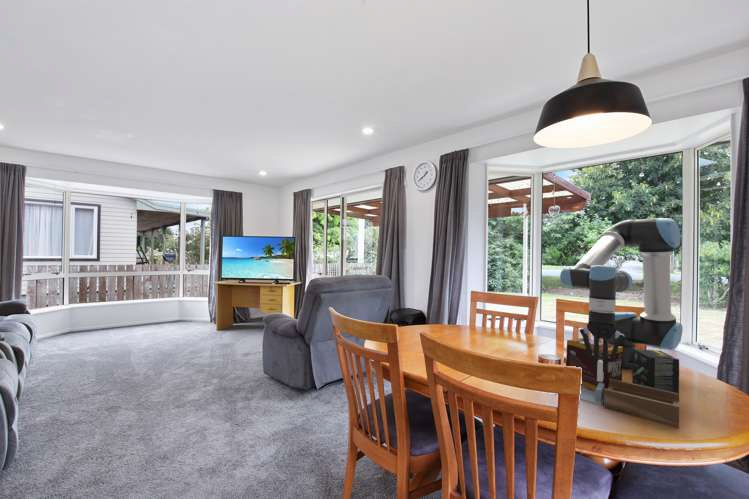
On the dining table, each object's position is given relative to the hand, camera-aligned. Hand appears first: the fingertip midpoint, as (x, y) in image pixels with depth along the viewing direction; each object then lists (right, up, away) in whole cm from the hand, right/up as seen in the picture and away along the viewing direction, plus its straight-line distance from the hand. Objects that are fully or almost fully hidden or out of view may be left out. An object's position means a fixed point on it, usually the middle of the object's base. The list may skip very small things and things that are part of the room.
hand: (600, 380), depth 117 cm
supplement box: (+7, -7, +14) cm, 17 cm away
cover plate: (-5, -7, +4) cm, 10 cm away
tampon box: (+23, -7, +5) cm, 25 cm away
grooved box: (+8, -7, -7) cm, 13 cm away
